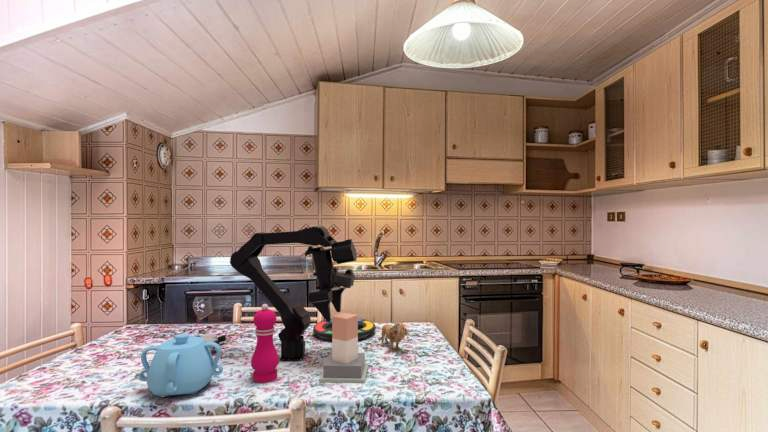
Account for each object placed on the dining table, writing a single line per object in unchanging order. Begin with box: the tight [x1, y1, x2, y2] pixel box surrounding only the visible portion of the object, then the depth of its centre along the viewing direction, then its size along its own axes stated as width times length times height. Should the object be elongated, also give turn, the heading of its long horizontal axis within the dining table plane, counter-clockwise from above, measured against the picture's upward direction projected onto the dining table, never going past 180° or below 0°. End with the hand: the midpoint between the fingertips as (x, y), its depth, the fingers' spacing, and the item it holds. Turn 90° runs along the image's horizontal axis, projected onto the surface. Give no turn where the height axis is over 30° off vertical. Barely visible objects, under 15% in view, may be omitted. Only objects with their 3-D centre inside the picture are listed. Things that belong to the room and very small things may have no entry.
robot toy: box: [195, 333, 229, 353], centre depth 133 cm, size 12×4×15 cm
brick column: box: [331, 312, 359, 364], centre depth 112 cm, size 5×5×12 cm
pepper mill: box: [250, 303, 280, 384], centre depth 109 cm, size 7×7×20 cm
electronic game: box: [312, 318, 376, 342], centre depth 150 cm, size 23×23×5 cm
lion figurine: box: [377, 322, 410, 353], centre depth 135 cm, size 15×5×9 cm, turn 36°
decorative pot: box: [138, 333, 224, 397], centre depth 103 cm, size 16×16×14 cm
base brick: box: [318, 352, 370, 384], centre depth 112 cm, size 12×12×4 cm
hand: (334, 316), depth 124 cm, fingers open, 9 cm apart
